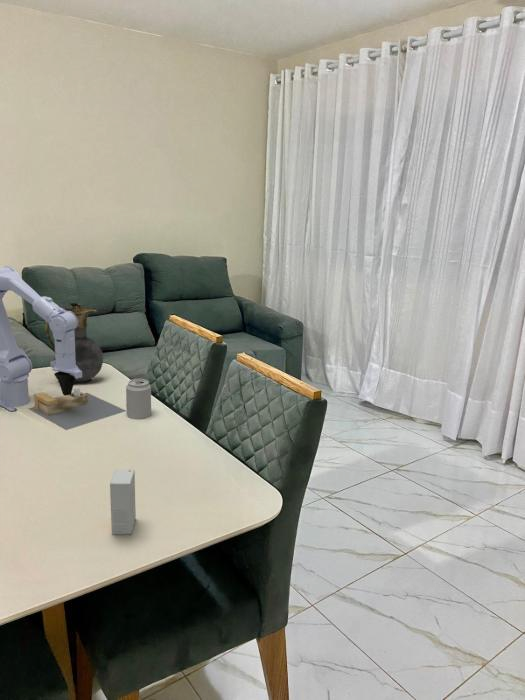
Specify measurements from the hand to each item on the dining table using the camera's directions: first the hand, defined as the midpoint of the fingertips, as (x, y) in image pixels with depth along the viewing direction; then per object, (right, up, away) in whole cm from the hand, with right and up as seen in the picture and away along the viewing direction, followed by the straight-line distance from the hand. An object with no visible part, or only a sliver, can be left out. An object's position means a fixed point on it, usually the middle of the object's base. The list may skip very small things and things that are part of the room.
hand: (67, 394), depth 167 cm
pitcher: (-7, +1, +29) cm, 30 cm away
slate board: (+2, -6, +4) cm, 7 cm away
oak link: (-3, -5, +5) cm, 7 cm away
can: (+21, -8, +3) cm, 23 cm away
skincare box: (+31, -24, -52) cm, 65 cm away
